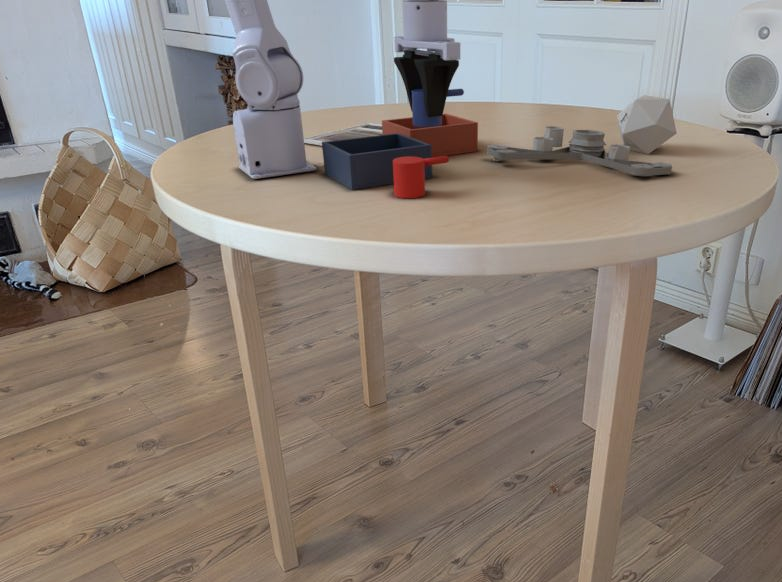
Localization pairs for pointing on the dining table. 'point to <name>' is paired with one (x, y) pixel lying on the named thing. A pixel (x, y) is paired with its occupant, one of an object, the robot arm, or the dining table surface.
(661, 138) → the die
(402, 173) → the red scoop
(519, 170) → the dining table surface
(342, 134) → the grey striped panel
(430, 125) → the blue scoop
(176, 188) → the dining table surface
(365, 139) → the blue bin
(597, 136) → the pulley system
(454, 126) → the red bin
